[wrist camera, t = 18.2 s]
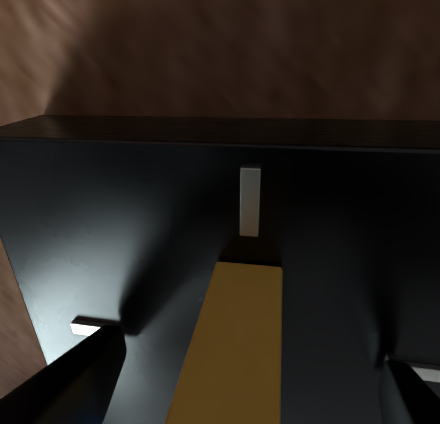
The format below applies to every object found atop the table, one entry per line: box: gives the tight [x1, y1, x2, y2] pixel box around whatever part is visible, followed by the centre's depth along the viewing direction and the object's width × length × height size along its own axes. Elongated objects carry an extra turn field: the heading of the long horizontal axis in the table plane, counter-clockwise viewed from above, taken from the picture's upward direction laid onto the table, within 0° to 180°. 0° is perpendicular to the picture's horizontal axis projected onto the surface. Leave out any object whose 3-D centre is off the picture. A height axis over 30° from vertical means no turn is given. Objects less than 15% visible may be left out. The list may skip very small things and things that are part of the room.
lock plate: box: [0, 115, 440, 424], centre depth 9 cm, size 12×10×3 cm
